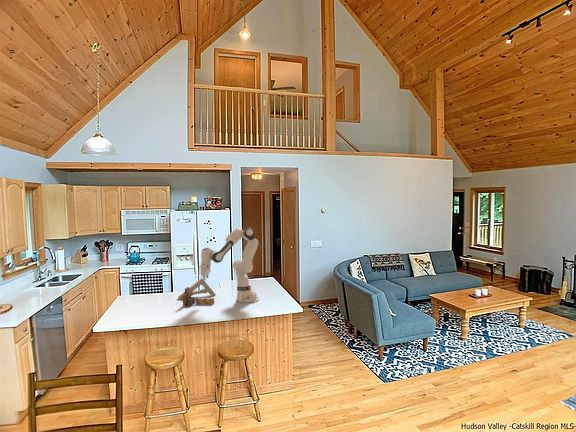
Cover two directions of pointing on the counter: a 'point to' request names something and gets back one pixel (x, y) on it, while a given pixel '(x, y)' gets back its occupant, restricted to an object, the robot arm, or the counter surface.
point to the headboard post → (188, 298)
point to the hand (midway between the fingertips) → (205, 279)
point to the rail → (204, 300)
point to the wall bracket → (196, 285)
